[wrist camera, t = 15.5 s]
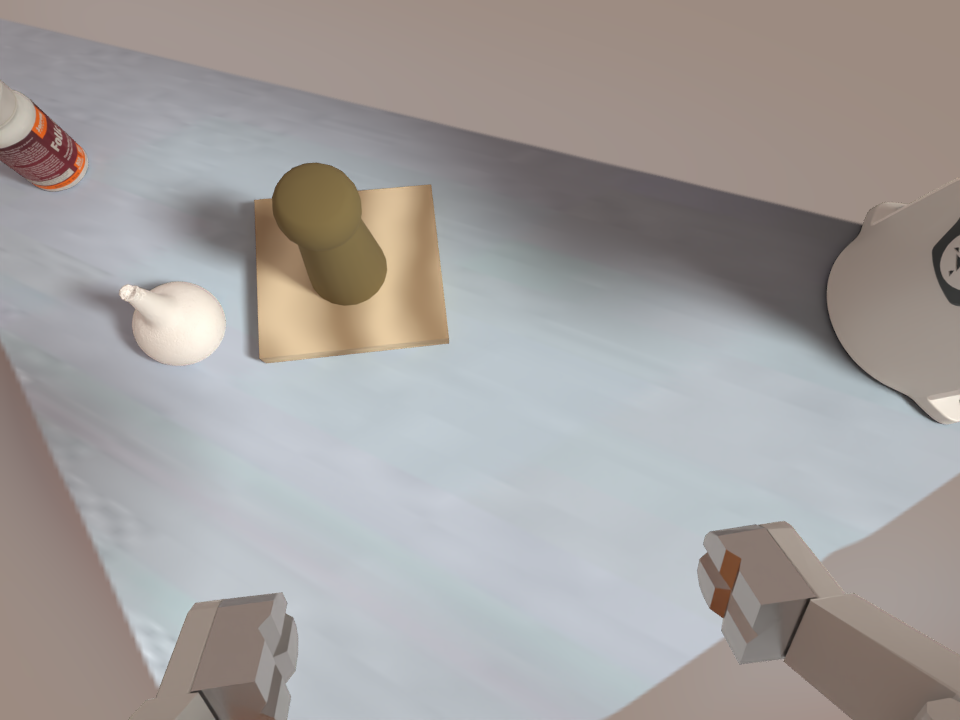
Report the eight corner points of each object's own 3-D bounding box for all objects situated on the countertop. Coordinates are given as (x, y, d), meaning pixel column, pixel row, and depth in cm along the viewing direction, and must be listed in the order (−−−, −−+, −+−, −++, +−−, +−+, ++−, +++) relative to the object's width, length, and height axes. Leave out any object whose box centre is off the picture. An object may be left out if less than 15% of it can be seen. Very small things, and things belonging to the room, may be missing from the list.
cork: (300, 243, 42) (247, 157, 31) (377, 225, 42) (350, 135, 32) (317, 314, 40) (267, 251, 30) (395, 294, 41) (374, 225, 30)
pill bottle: (100, 174, 44) (19, 103, 36) (44, 203, 43) (-52, 136, 35) (75, 132, 45) (-10, 52, 37) (20, 159, 44) (-79, 84, 36)
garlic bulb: (249, 326, 42) (210, 281, 34) (188, 386, 40) (133, 352, 33) (190, 279, 43) (140, 225, 35) (127, 336, 41) (60, 292, 33)
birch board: (431, 194, 45) (431, 184, 43) (449, 343, 42) (448, 338, 40) (261, 209, 44) (254, 199, 42) (266, 363, 41) (259, 358, 39)
